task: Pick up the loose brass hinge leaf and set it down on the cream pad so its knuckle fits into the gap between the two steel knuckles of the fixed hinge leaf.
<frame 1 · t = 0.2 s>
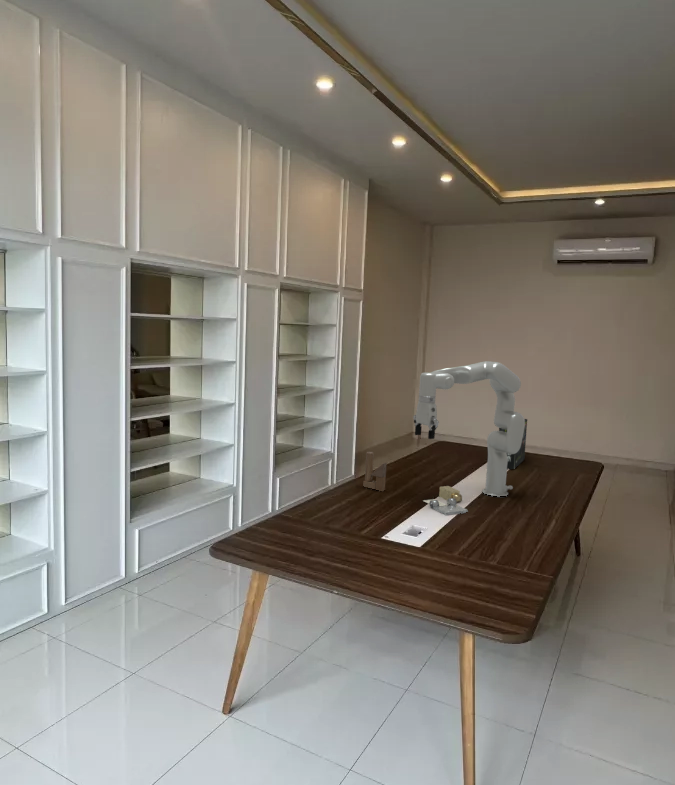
hand: (424, 436, 263), 31 cm above the table, tool pointing down, fingers open, 9 cm apart
hinge base: (442, 507, 260), on the table
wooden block: (373, 489, 285), on the table
brass leaf: (449, 499, 274), on the table
leaf pad: (434, 503, 266), on the table
router box: (510, 464, 357), on the table
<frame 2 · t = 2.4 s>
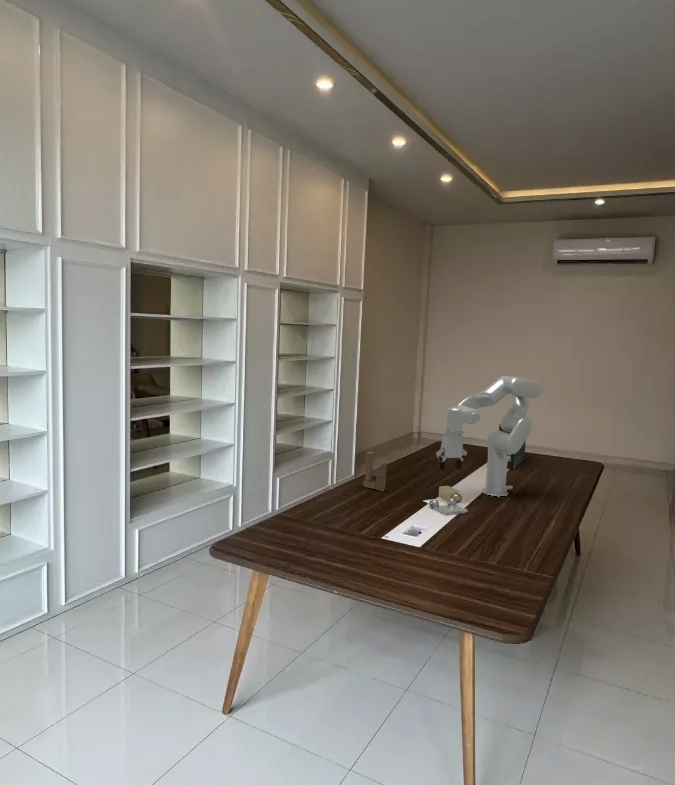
hand: (450, 469, 272), 14 cm above the table, tool pointing down, fingers open, 9 cm apart
nothing on the table moved.
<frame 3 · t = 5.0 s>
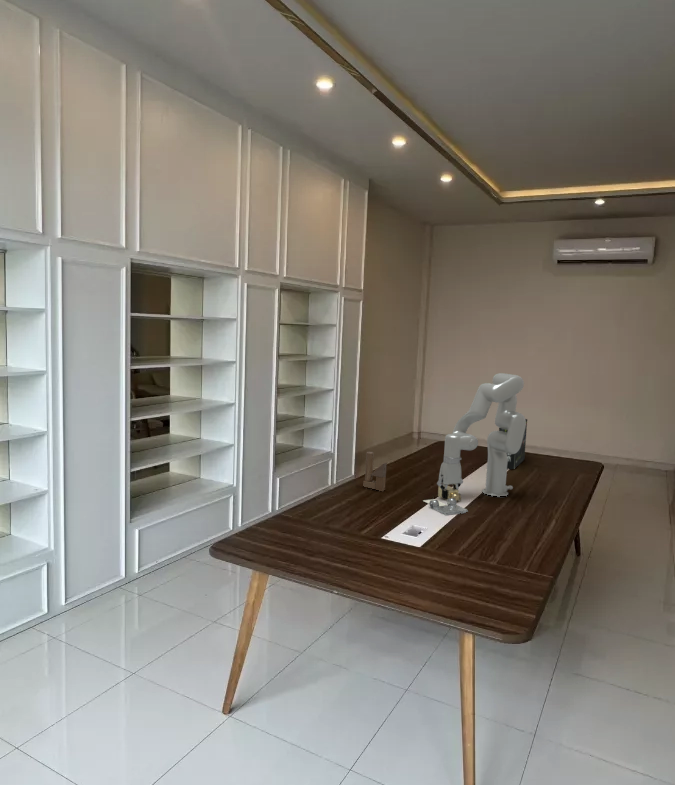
hand: (449, 497, 274), 1 cm above the table, tool pointing down, fingers closed on brass leaf, 5 cm apart
brass leaf: (447, 498, 275), on the table, touching gripper
everything else where it was.
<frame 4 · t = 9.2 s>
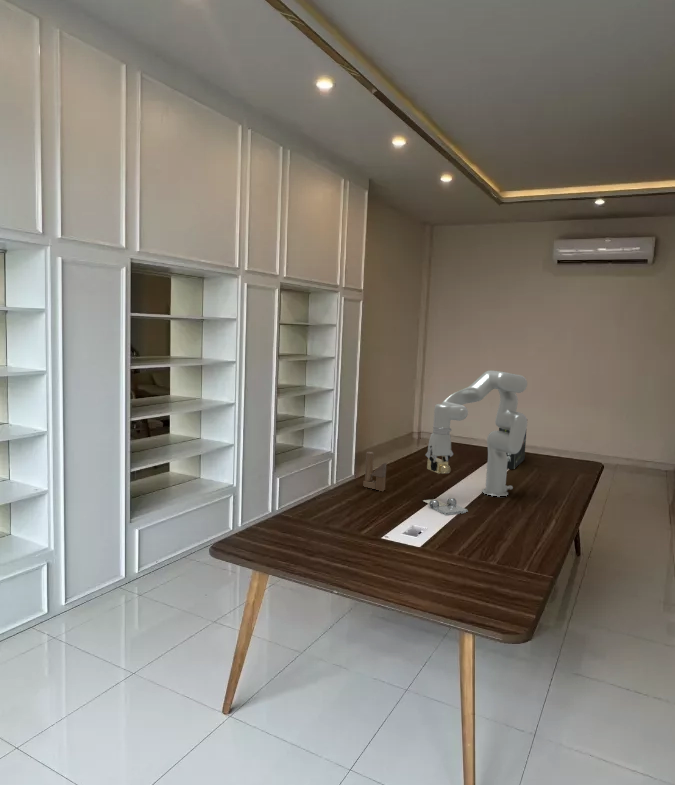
hand: (438, 469, 264), 16 cm above the table, tool pointing down, fingers closed on brass leaf, 5 cm apart
brass leaf: (437, 470, 265), point 15 cm above the table, touching gripper
everything else where it was.
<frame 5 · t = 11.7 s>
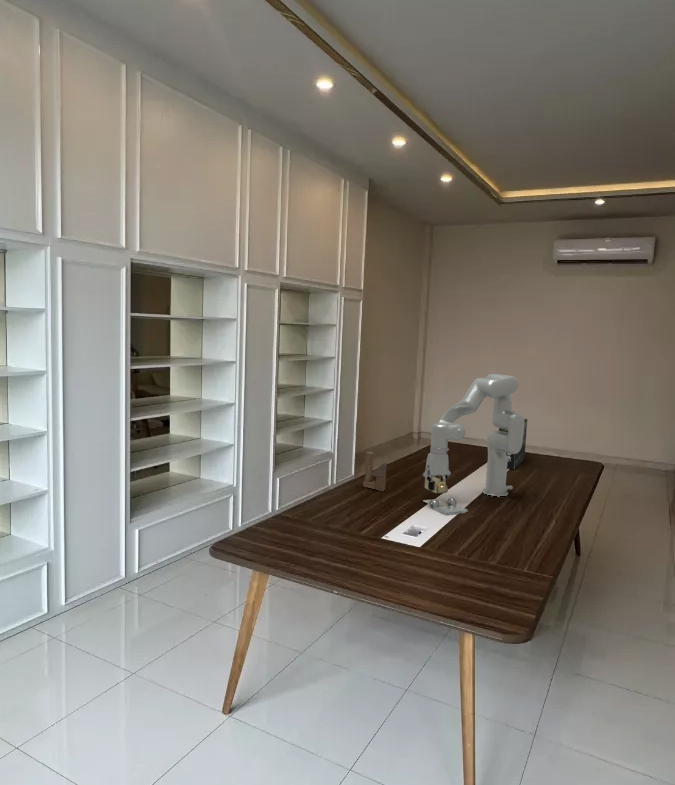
hand: (435, 489, 265), 7 cm above the table, tool pointing down, fingers closed on brass leaf, 5 cm apart
brass leaf: (434, 490, 266), point 6 cm above the table, touching gripper
everything else where it was.
when the fingers open (2 cm above the table, at t = 13.9 s): brass leaf drops 1 cm, resting on leaf pad.
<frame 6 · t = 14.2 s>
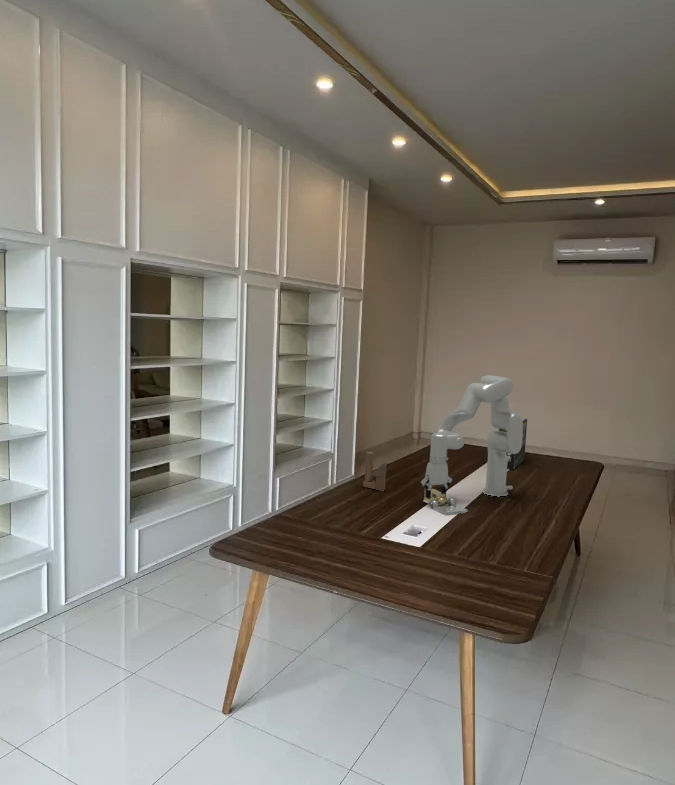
hand: (435, 497, 265), 3 cm above the table, tool pointing down, fingers open, 8 cm apart
brass leaf: (434, 502, 266), resting on leaf pad
everything else where it was.
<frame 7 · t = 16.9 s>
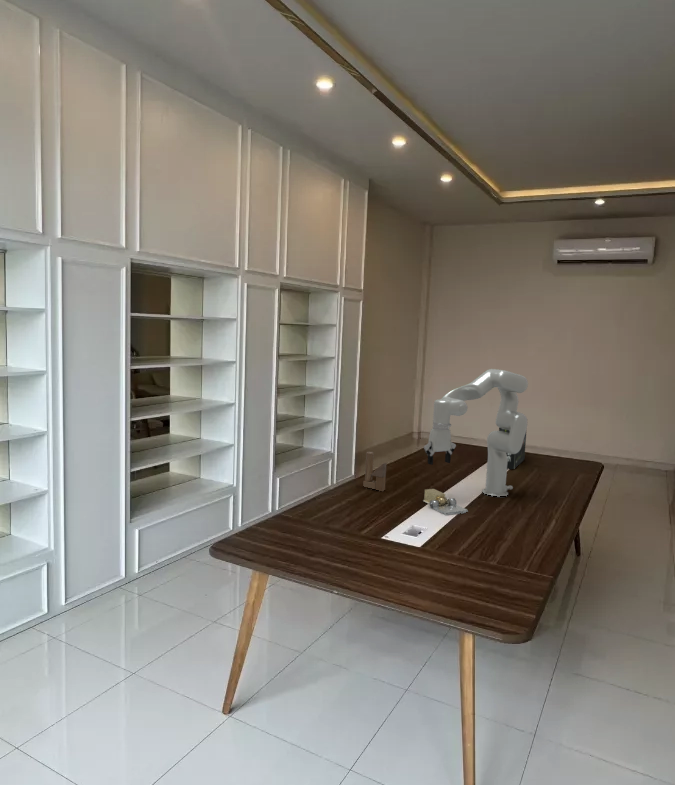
hand: (438, 463, 264), 19 cm above the table, tool pointing down, fingers open, 9 cm apart
nothing on the table moved.
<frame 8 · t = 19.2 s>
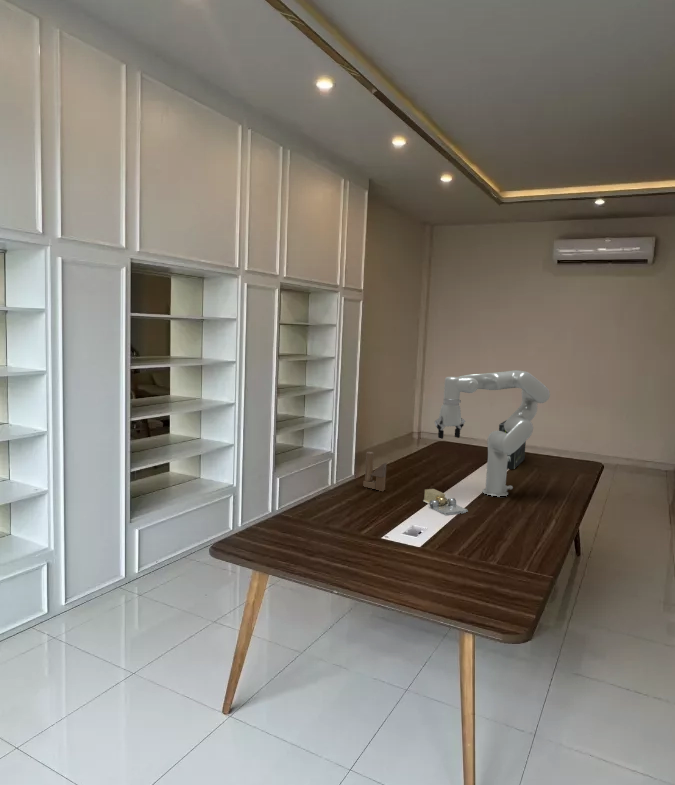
hand: (448, 437, 277), 28 cm above the table, tool pointing down, fingers open, 9 cm apart
nothing on the table moved.
at the end: brass leaf 1.1 cm from the target spot on the hinge base, point 0.2 cm above the hinge base's base; brass leaf tilted 0°; the gripper is holding nothing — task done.
